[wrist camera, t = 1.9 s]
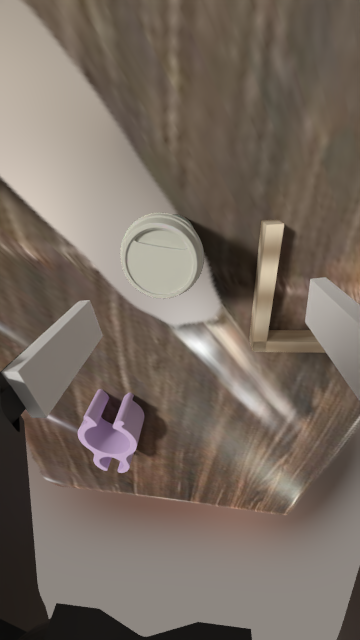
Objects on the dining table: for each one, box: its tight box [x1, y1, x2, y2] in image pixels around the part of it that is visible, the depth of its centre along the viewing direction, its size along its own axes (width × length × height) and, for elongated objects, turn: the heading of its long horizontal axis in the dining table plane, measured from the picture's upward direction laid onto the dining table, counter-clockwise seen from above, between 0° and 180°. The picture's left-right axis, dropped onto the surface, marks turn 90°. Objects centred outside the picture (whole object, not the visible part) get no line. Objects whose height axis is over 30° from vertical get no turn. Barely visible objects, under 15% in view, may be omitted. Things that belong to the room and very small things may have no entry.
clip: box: [78, 389, 144, 473], centre depth 53 cm, size 20×12×7 cm, turn 177°
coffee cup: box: [120, 213, 204, 299], centre depth 28 cm, size 8×8×12 cm
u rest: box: [249, 220, 326, 353], centre depth 33 cm, size 19×21×3 cm
